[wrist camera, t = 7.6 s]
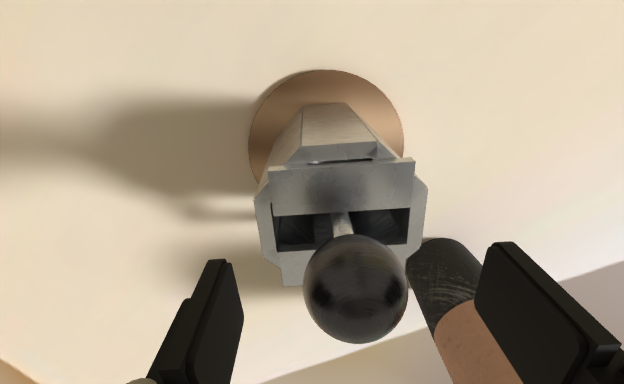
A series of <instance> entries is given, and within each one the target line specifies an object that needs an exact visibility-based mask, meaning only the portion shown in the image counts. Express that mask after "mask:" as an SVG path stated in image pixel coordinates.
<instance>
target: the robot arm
mask: <svg viewBox="0 0 624 384" xmlns="http://www.w3.org/2000/svg"><path fill="white" fill-rule="evenodd" d="M474 306H475V309H476V311H477V312H478V314H479V316H480V317H481V319H482V320H483V322H484V323H485V325H486V326H487V328H488V330H489V331H490V333H491V334H492V336H493V337H494V339H495V340H496V342H497V343H498V345H499V347H500V348H501V350H502V351H503V353H504V354H505V356H506V357H507V359H508V361H509V362H510V364H511V365H512V367H513V368H514V370H515V371H516V373H517V375H518V376H519V378H520V379H521V381H522V382H523V384H624V351H623V350H622V349H621V348H620V346H621V345H622V344H621V343H620V342H619V341H618V340H617V339H616V338H615V337H614V336H613V335H612V334H611V333H610V332H609V331H608V330H606V329H605V328H604V327H603V326H602V325H601V324H600V323H599V322H598V321H597V320H596V319H595V318H594V317H593V316H592V315H591V314H590V313H588V312H587V311H586V310H585V309H584V308H583V307H582V306H581V305H580V304H579V303H578V302H577V301H576V300H575V299H574V298H573V297H571V296H570V295H569V294H568V293H567V292H566V291H565V290H564V289H563V288H562V287H561V286H560V285H559V284H558V283H557V282H556V281H555V280H553V279H552V278H551V277H550V276H549V275H548V274H547V273H546V272H545V271H544V270H543V269H542V268H541V267H540V266H539V265H538V264H536V263H535V262H534V261H533V260H532V259H531V258H530V257H529V256H528V255H527V254H526V253H525V252H524V251H523V250H522V249H521V248H520V247H518V246H517V245H516V244H515V243H514V242H511V241H510V242H495V243H493V244H492V246H491V247H489V248H488V249H487V252H486V256H485V260H484V263H483V267H482V271H481V275H480V278H479V282H478V286H477V290H476V293H475V297H474ZM243 322H244V314H243V309H242V305H241V301H240V297H239V293H238V288H237V284H236V280H235V276H234V272H233V268H232V264H231V263H227V261H226V260H225V259H213V260H208V262H207V264H206V266H205V268H204V270H203V272H202V275H201V277H200V279H199V281H198V283H197V285H196V288H195V290H194V292H193V294H192V296H191V298H187V299H185V300H184V301H183V302H182V304H181V306H180V308H179V310H178V312H177V314H176V316H175V318H174V320H173V322H172V324H171V327H170V329H169V331H168V333H167V335H166V337H165V339H164V341H163V343H162V345H161V347H160V349H159V351H158V353H157V355H156V358H155V360H154V362H153V364H152V366H151V368H150V370H149V372H148V374H147V376H146V378H140V379H136V380H133V381H131V382H129V383H127V384H230V380H231V376H232V372H233V367H234V363H235V358H236V354H237V349H238V345H239V341H240V336H241V332H242V327H243Z"/></svg>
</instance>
